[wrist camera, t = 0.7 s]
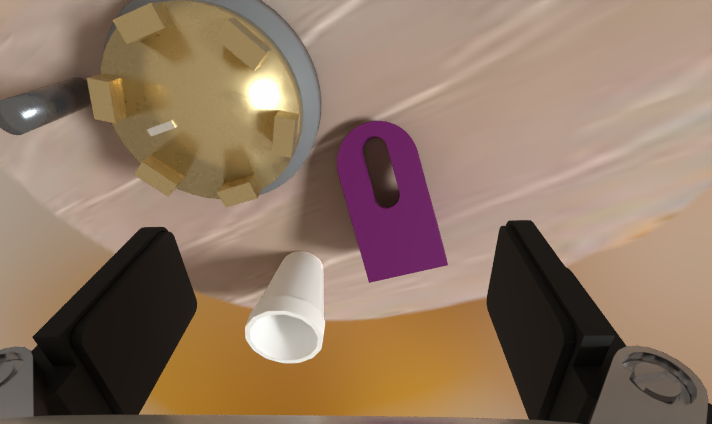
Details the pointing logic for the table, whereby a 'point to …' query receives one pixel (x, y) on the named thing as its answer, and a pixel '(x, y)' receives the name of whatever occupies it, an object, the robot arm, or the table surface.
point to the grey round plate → (287, 40)
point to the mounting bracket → (390, 224)
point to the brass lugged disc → (199, 99)
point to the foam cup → (290, 312)
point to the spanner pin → (43, 106)
